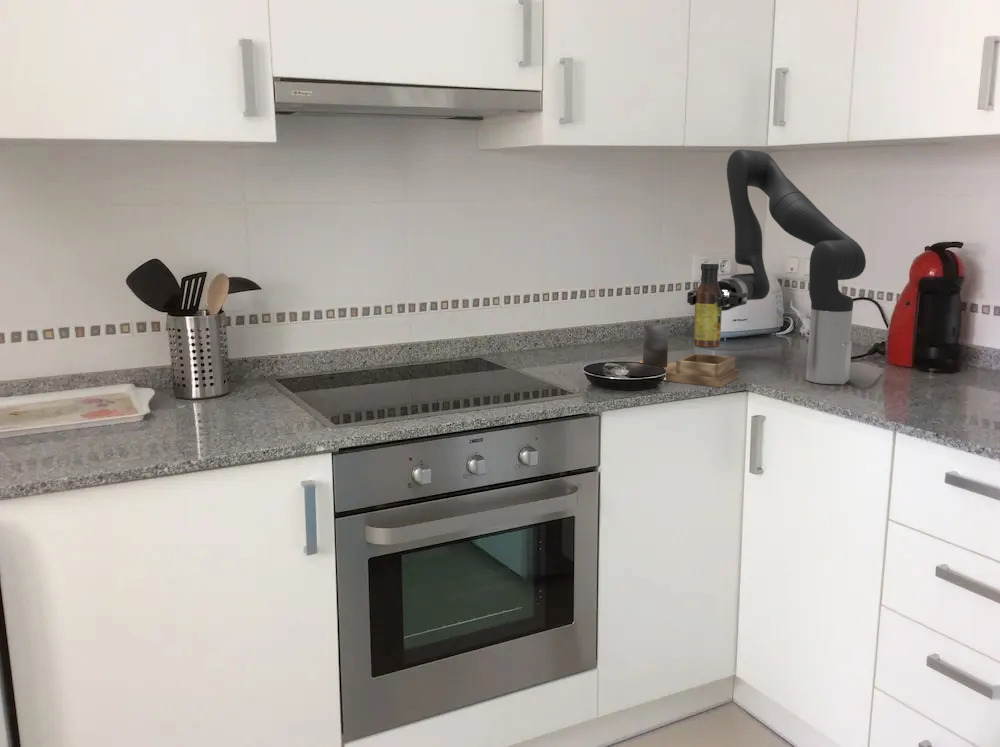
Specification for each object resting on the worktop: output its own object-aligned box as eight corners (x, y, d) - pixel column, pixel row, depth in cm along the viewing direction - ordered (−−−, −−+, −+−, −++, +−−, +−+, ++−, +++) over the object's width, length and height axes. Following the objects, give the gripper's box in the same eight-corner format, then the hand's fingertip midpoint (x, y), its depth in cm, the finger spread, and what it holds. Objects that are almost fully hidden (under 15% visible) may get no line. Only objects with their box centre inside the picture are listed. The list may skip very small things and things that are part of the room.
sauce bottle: (722, 348, 209) (727, 264, 205) (696, 348, 210) (700, 264, 205) (716, 343, 216) (721, 261, 211) (690, 343, 216) (694, 261, 212)
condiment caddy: (738, 377, 216) (740, 328, 214) (720, 387, 206) (723, 336, 203) (642, 366, 229) (644, 320, 227) (621, 375, 219) (622, 327, 216)
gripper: (701, 277, 225) (676, 283, 211) (757, 280, 217) (736, 287, 204) (700, 306, 227) (675, 315, 213) (756, 310, 219) (734, 320, 205)
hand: (705, 301), depth 208 cm, fingers closed on sauce bottle, 6 cm apart
